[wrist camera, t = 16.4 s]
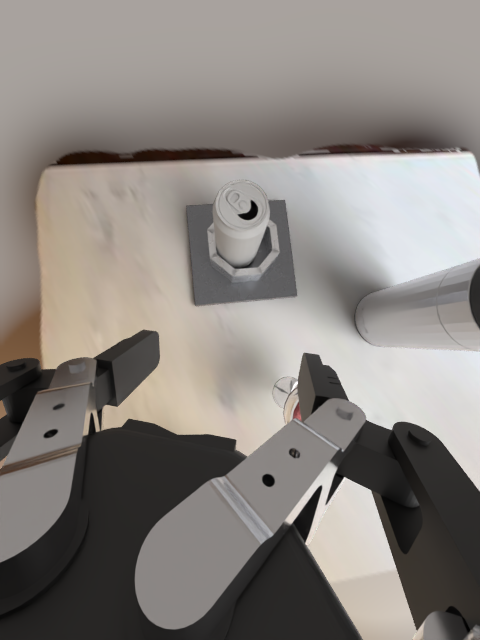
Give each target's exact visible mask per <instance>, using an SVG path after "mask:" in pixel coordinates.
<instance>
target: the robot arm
mask: <svg viewBox="0 0 480 640" xmlns="http://www.w3.org/2000/svg"><path fill="white" fill-rule="evenodd" d="M355 322H356V326H357V329H358V331H359V333H360V334H361V336H362V337H363V338H364V339H365V340H366V341H367V342H369V343H371V344H372V345H375V346H379V347H395V348H415V349H437V350H459V351H480V259H476V260H473V261H470V262H467V263H464V264H461V265H458V266H455V267H452V268H449V269H445V270H442V271H439V272H436V273H433V274H430V275H427V276H423V277H420V278H417V279H414V280H411V281H408V282H405V283H401V284H398V285H395V286H392V287H389V288H385V289H382V290H379V291H376V292H373V293H370V294H368V295H367V296H365V297H364V298H363V299H362V300H361V301H360V303H359V304H358V306H357V309H356V314H355ZM159 359H160V351H159V334H158V332H156V331H149V330H142V331H140V332H139V333H137V334H135V335H134V336H132V337H130V338H127V339H124V340H122V341H121V342H119V343H117V344H116V345H114V346H112V347H111V348H110V349H108V350H106V351H104V352H103V353H101V354H99V355H98V356H96V357H94V358H88V357H83V358H76V359H72V360H68V361H66V362H64V363H62V364H60V365H59V366H58V367H57V369H44V370H41V366H40V361H39V360H38V359H34V358H23V359H17V360H13V361H9V362H6V363H4V364H1V365H0V401H1V400H2V401H3V404H4V407H5V410H6V413H7V415H6V416H4V417H3V418H1V419H0V461H1V460H2V459H3V458H5V457H6V456H7V455H8V456H7V458H6V461H5V463H4V465H3V467H2V468H1V469H0V640H363V639H362V637H361V636H360V634H359V632H358V631H357V629H356V627H355V626H354V624H353V622H352V621H351V619H350V617H349V616H348V614H347V612H346V611H345V609H344V607H343V606H342V604H341V602H340V601H339V599H338V597H337V596H336V594H335V592H334V591H333V589H332V587H331V586H330V584H329V582H328V581H327V579H326V577H325V575H324V574H323V572H322V570H321V569H320V567H319V565H318V564H317V562H316V560H315V559H314V557H313V555H312V554H311V552H310V550H309V549H308V546H309V544H310V542H311V540H312V539H313V537H314V535H315V533H316V531H317V529H318V526H319V524H320V522H321V520H322V518H323V516H324V514H325V512H326V511H327V509H328V507H329V506H330V504H331V502H332V501H333V499H334V498H335V496H336V494H337V493H338V491H339V490H340V488H341V486H342V485H343V483H344V481H345V480H346V478H348V479H350V480H352V481H354V482H356V483H358V484H360V485H362V486H364V487H366V488H368V489H370V490H371V491H372V494H373V497H374V500H375V503H376V506H377V509H378V513H379V516H380V519H381V522H382V525H383V528H384V531H385V534H386V537H387V540H388V543H389V546H390V550H391V553H392V556H393V559H394V562H395V565H396V568H397V571H398V574H399V577H400V580H401V583H402V586H403V590H404V593H405V596H406V599H407V602H408V605H409V608H410V611H411V614H412V617H413V620H414V623H415V626H416V630H417V632H416V634H415V635H414V636H413V638H412V639H411V640H480V491H479V490H478V489H477V488H476V486H475V485H474V484H473V482H472V481H471V480H470V478H469V477H468V476H467V474H466V473H465V472H464V471H463V469H462V468H461V467H460V465H459V464H458V463H457V461H456V460H455V459H454V457H453V456H452V455H451V454H450V452H449V451H448V450H447V448H446V447H445V446H444V444H443V443H442V442H441V441H440V440H439V439H438V438H437V437H436V436H435V435H433V434H432V433H431V432H429V431H427V430H426V429H424V428H422V427H420V426H418V425H415V424H412V423H408V422H397V423H395V424H394V426H393V428H392V430H389V429H386V428H384V427H381V426H378V425H376V424H373V423H371V422H369V421H367V420H366V416H365V413H364V412H363V411H362V410H361V409H360V408H359V407H358V406H357V405H355V404H354V403H352V402H350V401H349V400H348V398H347V396H346V393H345V391H344V389H343V387H342V385H341V383H340V380H339V378H338V376H337V374H336V372H335V371H334V370H333V369H332V368H331V367H330V366H327V365H323V364H322V362H321V359H320V356H319V355H317V354H309V353H303V356H302V361H301V366H300V372H299V377H298V384H297V392H298V399H299V406H300V414H301V420H299V419H298V418H294V419H293V420H291V421H290V422H289V423H288V424H287V425H285V426H284V427H283V428H282V429H281V430H279V431H278V432H277V433H276V434H275V435H273V436H272V437H271V438H270V439H269V440H267V441H266V442H265V443H264V444H263V445H261V446H260V447H259V448H258V449H257V450H256V451H254V452H253V453H252V454H251V455H250V456H248V457H247V456H246V455H244V454H243V453H241V452H239V451H237V450H236V440H235V439H230V438H225V437H219V436H214V435H209V434H204V435H177V434H174V433H172V432H170V431H168V430H166V429H164V428H162V427H160V426H158V425H156V424H153V423H148V422H143V421H138V420H133V419H128V420H127V421H126V423H125V424H124V425H123V426H122V427H118V428H110V429H106V430H103V425H104V409H103V407H104V406H105V405H111V406H117V407H118V406H119V405H120V404H121V403H122V402H123V401H124V400H125V399H126V398H127V397H128V396H129V395H130V394H131V393H132V392H133V391H134V390H135V389H136V388H137V387H138V386H139V384H140V383H141V382H142V381H143V380H144V379H145V378H146V377H147V376H148V375H149V374H150V373H151V372H152V371H153V370H154V369H155V368H156V367H157V366H158V363H159Z"/></svg>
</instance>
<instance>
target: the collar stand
mask: <svg viewBox="0 0 480 640" xmlns="http://www.w3.org/2000/svg"><path fill="white" fill-rule="evenodd" d="M268 203H269V209H270V217H269V221H268V224H267V227H266V230H265V232H264V235H263V238H262V241H261V243H260V246H259V249H258V252H257V254H256V257H255V259H254V260H253V261H252V262H251V263H250V264H249V265H247V266H245V267H242V268H233V267H232V266H230V265H229V264H228V263H227V262H226V261H224V260H223V259H222V258H221V257H219V256H218V255H217V251H216V242H215V232H214V222H213V204H207V205H190V206H186V207H187V218H188V229H189V241H190V252H191V263H192V274H193V285H194V296H195V305H196V306H205V305H215V304H226V303H237V302H248V301H258V300H269V299H280V298H290V297H296V296H297V290H296V282H295V275H294V267H293V259H292V251H291V243H290V235H289V228H288V220H287V212H286V204H285V200H276V201H268Z"/></svg>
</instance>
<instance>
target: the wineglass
mask: <svg viewBox="0 0 480 640" xmlns="http://www.w3.org/2000/svg"><path fill="white" fill-rule="evenodd" d="M297 384H298V380H297V379H295V378H292V377H285V378H282V379H280V380H279V381H278V382H277V383H276V384H275V386H274V388H273V398H274V400H275V402H276V404H277V405H278V406H279V407H281V408H283V409H284V412H283V413H284V419H285V424H286V425H287V424H288V423H289V422H290V421H291V420H293V419H294V418H298V419H299V420H301V414H300V406H299V399H298V392H297Z"/></svg>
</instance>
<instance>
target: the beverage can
mask: <svg viewBox="0 0 480 640" xmlns="http://www.w3.org/2000/svg"><path fill="white" fill-rule="evenodd" d="M269 217H270V209H269V203H268V199H267V196H266V194H265V192H264V191H263V190H262V189H261V188H260V187H259V186H258V185H257V184H255V183H253V182H251V181H247V180H235V181H231V182H229V183H227V184H226V185H224V186H223V187H222V188H221V189H220V191H219V193H218V194H217V197H216V199H215V201H214V204H213V222H214V232H215V242H216V251H217V255H218V256H219V257H221V258H222V259H223V260H224V261H226V262H227V263H228V264H229V265H230V266H232V267H233V268H242V267H245V266H247V265H249V264H250V263H251V262H252V261H253V260H254V259H255V257H256V254H257V252H258V249H259V246H260V243H261V241H262V238H263V235H264V232H265V230H266V227H267V224H268V221H269Z"/></svg>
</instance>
